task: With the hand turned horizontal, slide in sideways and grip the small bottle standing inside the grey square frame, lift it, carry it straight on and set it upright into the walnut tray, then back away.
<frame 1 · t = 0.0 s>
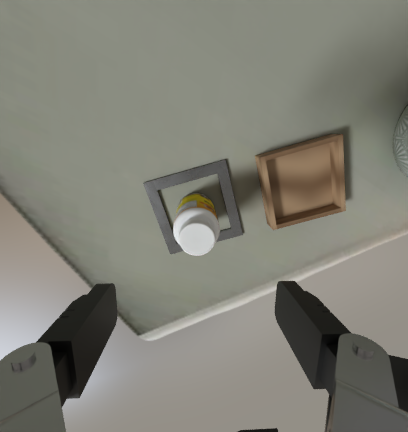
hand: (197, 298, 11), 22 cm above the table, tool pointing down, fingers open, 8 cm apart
grey square frame: (195, 209, 33), on the table
supplement bottle: (195, 209, 33), on the table
tray: (296, 181, 32), on the table
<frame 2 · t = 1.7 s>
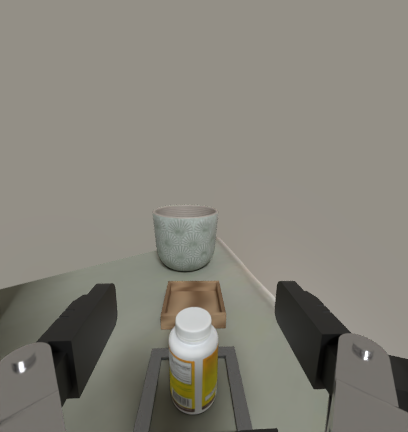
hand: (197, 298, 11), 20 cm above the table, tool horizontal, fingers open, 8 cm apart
grey square frame: (193, 391, 26), on the table
supplement bottle: (193, 392, 26), on the table
planter: (186, 264, 59), on the table
tray: (193, 308, 41), on the table
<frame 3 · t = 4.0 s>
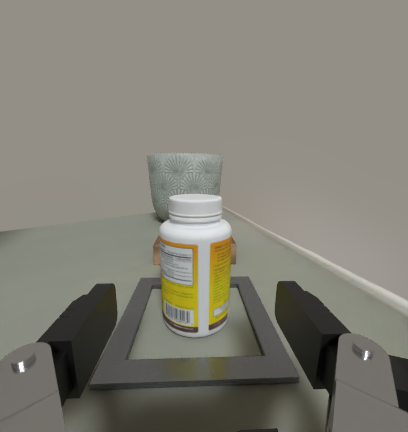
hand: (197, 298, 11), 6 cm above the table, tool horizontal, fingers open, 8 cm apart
grey square frame: (195, 316, 18), on the table
supplement bottle: (195, 318, 18), on the table
planter: (185, 221, 52), on the table
tray: (195, 249, 33), on the table
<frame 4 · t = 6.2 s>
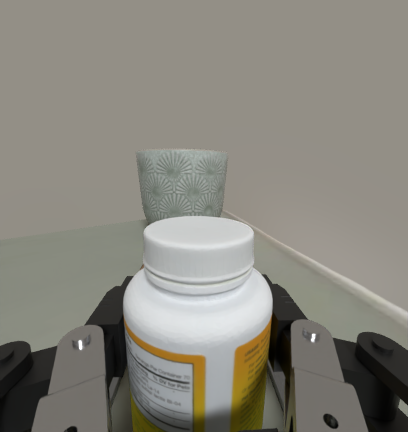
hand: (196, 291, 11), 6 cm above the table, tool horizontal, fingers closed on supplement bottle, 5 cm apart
planter: (183, 231, 44), on the table
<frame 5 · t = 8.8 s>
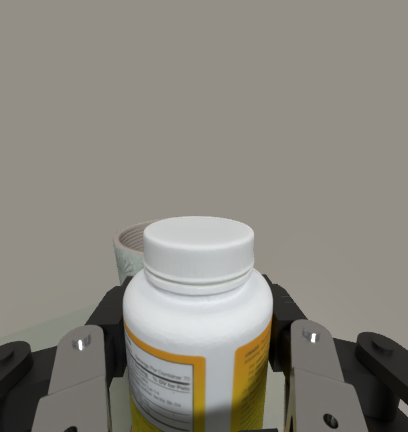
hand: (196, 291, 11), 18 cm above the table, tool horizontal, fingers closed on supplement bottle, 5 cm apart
planter: (179, 326, 33), on the table
when the fingers open (8 cm above the table, at t = 11.4 s): supplement bottle drops 1 cm, resting on tray.
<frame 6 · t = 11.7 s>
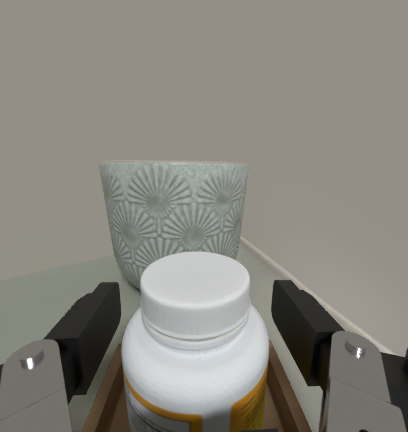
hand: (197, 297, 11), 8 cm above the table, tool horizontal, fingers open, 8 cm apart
planter: (178, 280, 29), on the table
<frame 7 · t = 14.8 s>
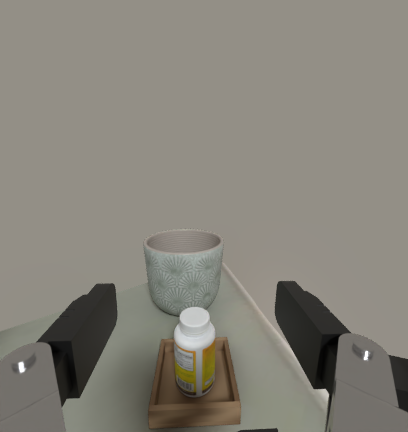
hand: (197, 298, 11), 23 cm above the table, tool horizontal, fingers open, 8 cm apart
supplement bottle: (194, 381, 30), resting on tray
planter: (185, 303, 49), on the table
tray: (194, 382, 30), on the table
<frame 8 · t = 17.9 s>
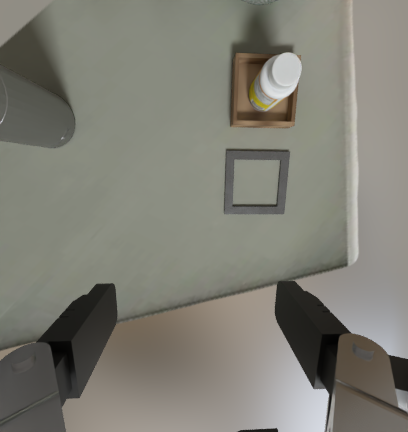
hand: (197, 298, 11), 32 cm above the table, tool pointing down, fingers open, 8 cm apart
grey square frame: (255, 183, 42), on the table
supplement bottle: (262, 95, 38), resting on tray
tray: (261, 95, 38), on the table
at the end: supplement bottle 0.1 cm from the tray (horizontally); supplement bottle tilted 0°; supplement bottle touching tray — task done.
